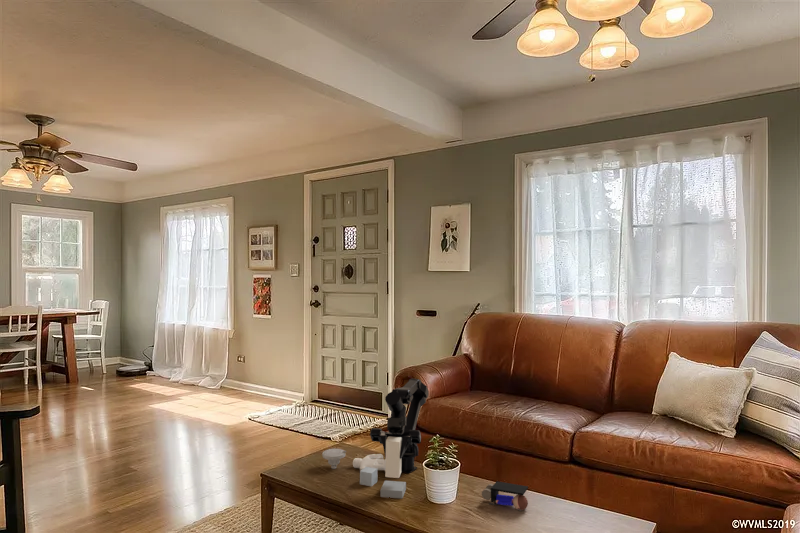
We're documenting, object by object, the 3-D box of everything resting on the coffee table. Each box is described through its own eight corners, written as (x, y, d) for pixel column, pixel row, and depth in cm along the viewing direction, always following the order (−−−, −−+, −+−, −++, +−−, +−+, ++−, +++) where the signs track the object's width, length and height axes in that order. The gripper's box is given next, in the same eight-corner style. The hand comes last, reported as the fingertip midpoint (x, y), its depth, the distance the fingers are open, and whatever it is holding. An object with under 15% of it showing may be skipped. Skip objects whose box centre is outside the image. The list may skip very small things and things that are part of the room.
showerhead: (343, 454, 201) (319, 453, 203) (343, 472, 201) (319, 471, 203) (349, 446, 211) (326, 445, 212) (349, 464, 211) (326, 462, 212)
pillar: (388, 471, 186) (388, 436, 186) (401, 472, 185) (401, 437, 185) (385, 476, 181) (385, 441, 181) (399, 478, 180) (399, 442, 180)
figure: (403, 462, 207) (360, 460, 214) (400, 449, 205) (357, 447, 212) (395, 481, 197) (350, 478, 204) (392, 468, 195) (346, 465, 202)
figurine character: (482, 509, 172) (525, 514, 165) (479, 486, 173) (522, 491, 166) (489, 501, 178) (531, 506, 171) (486, 479, 179) (528, 483, 171)
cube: (366, 479, 195) (366, 466, 195) (377, 481, 193) (377, 468, 193) (359, 484, 190) (359, 471, 190) (371, 486, 188) (371, 473, 188)
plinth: (384, 488, 187) (384, 480, 187) (406, 490, 186) (406, 482, 186) (380, 497, 179) (380, 489, 179) (402, 499, 178) (402, 491, 178)
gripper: (370, 406, 188) (364, 446, 177) (419, 408, 185) (416, 448, 174) (375, 421, 196) (369, 460, 185) (422, 423, 193) (419, 462, 182)
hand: (393, 457), depth 181 cm, fingers closed on pillar, 5 cm apart
